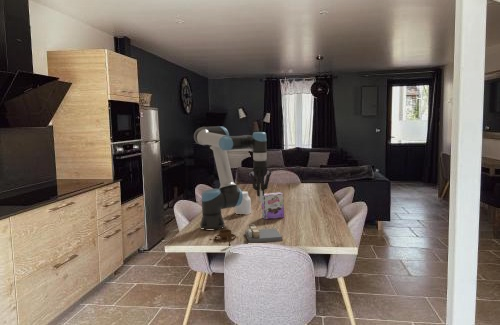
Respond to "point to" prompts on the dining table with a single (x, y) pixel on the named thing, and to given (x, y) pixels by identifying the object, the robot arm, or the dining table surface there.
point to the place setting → (226, 235)
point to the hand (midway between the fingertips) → (260, 201)
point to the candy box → (273, 206)
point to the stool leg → (254, 231)
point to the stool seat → (264, 235)
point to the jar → (244, 205)
